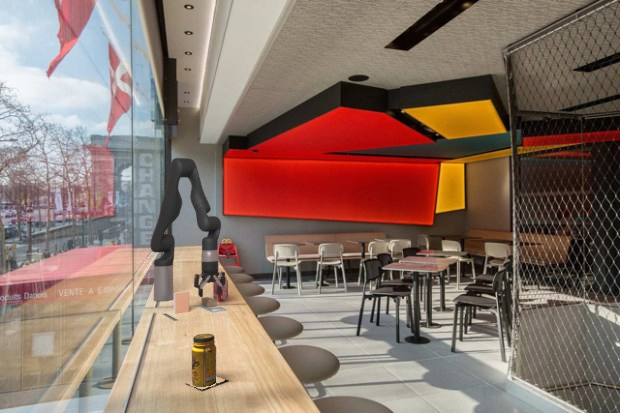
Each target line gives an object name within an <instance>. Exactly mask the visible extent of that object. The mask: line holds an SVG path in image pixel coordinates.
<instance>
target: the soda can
mask: <svg viewBox="0 0 620 413" xmlns="http://www.w3.org/2000/svg"><path fill="white" fill-rule="evenodd" d="M218 280H219V281H220V283H221V277H220V276H218ZM225 281H226V284H225V285H223V286H222V293H221V295H217V284H216V283H215V282H212V283H213V287H212V288H213V289H212V290H213V292H212V293H213V294H212V297H213V298H212V299H215V300H217V302H227V301H228V300H229V280H228V279H227V277H226V276H225Z"/></svg>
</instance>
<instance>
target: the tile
mask: <svg viewBox="0 0 620 413" xmlns="http://www.w3.org/2000/svg"><path fill="white" fill-rule="evenodd" d="M189 312H190V291H188V290H185V291H177V292H176V291H175V292H173V314H175V315H178V314H184V313H189Z"/></svg>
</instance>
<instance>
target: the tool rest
mask: <svg viewBox="0 0 620 413" xmlns="http://www.w3.org/2000/svg"><path fill="white" fill-rule="evenodd" d="M196 306H197V307H199V308H201V309H203V310H205V311H209V312H210V313H218V312H224V311H225V312H226V311H227V309H225V308H224V310H220V311H211V310H209V308H207V307H204V306H202V304H197V305H196Z"/></svg>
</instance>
